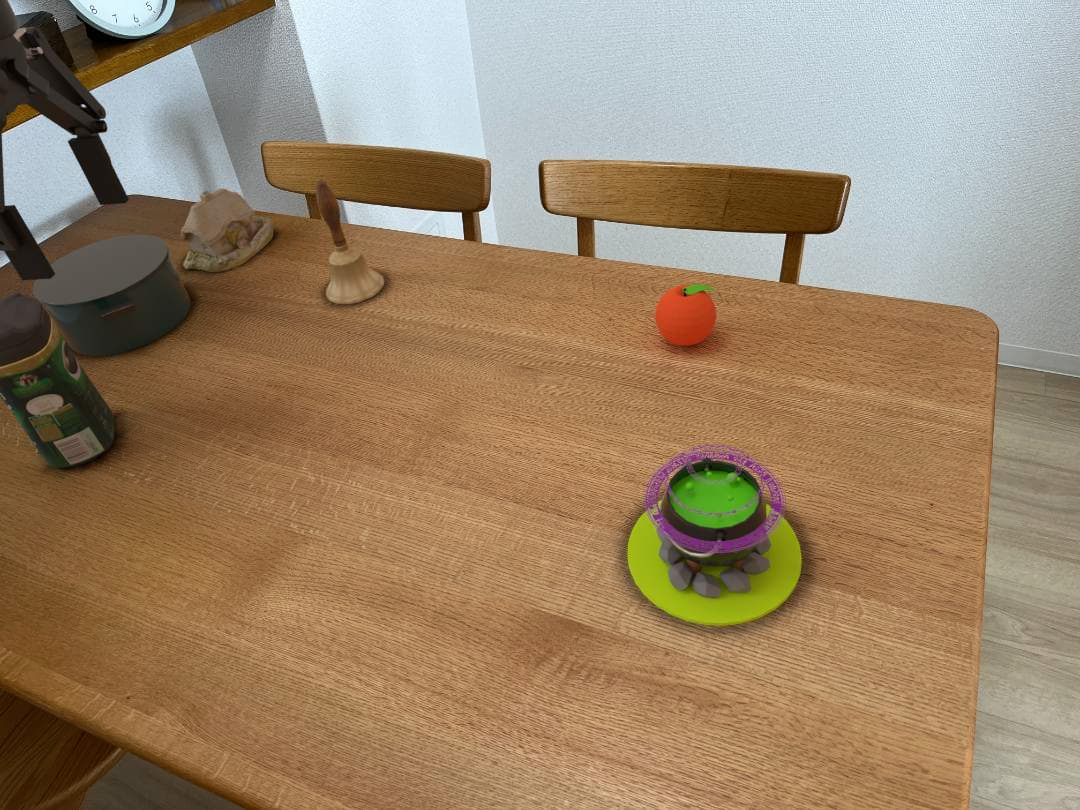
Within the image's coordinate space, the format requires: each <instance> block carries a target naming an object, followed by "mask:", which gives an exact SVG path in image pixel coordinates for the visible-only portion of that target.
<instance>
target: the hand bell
mask: <svg viewBox="0 0 1080 810" xmlns="http://www.w3.org/2000/svg"><path fill="white" fill-rule="evenodd" d="M315 199H316V200H315V201H316V205H317V208H318V211H319V213H320V215H321V217H322V219H323V221H324V222H325V223H326V225H327V227H328V228H329V231H330V235H331V238H332V239H331V240H332V241H333V245H334V248H335V249H334V250H335V251H333V252H332V253H331V254H330V255H329V257H328V263H329V267H330V282H329V283H328V285H327V287H326V291H325V296H326V299H327V300H328V301H329V302H331V303H334V304H336V305H353V304H354V305H355V304H358V303H362V302H364V301H367V300H369V299H371V298H373V297H374V296H376V295H377V294H378V293H380V291H381V290H382V289H383V288H384V286H385V279H384V276H383V275H382V274H381V273H380V272H378V271H376V270H374V269H372V268H371V267H370V266H369V265H368V264H367V262H366V260H365V258H364V256H363V254H362V252H361V250H360V249H359V248H357V247H353V246H349V245H348V242H347V239H346V236H345V233H344V231H343V228H342V225H341V211H340V206H339V202H338V199H337V197H336V195H335V193H334V192H333V190H332V189H331V188H330V186H329V185H328V183H327V181H326V180H325V179H319V180H317V181H316V182H315Z"/></svg>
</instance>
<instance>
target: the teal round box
mask: <svg viewBox="0 0 1080 810" xmlns="http://www.w3.org/2000/svg"><path fill="white" fill-rule="evenodd" d="M50 266H51V267H52V269H53V271H54V272H55V275H54V276H53V277H52V278H51V279H37V280H35V281H34V283H33V286H32V293H33V296H34V298H35V299H37V300H38V301H39V302H40V303H41V304H42V306H43V307H44V309H45V310H46V311H47V313H48V314H49V315H50V317H51V319H52V320H53V322H54V324H55V325H56V327H57V329H58V331H59V332H60V334H61V336H62V338H63V339H64V341H65V342H66V344H67V346H68V347H69V349H70V350H71V351H74V352H75V353H77V354H80V355H83V356H89V357H105V356H112V355H118V354H123V353H126V352H129V351H133V350H135V349H139V348H141V347H143V346H146V345H148V344H150V343H152V342H154V341H156V340H158V339H160V338H162V337H164V336H165V335H166V334H168V333H169V332H170V331H172V330H173V329H174V328H176V327H177V326H178V325H179V324H181V322H182V321H183V320H184V319H185V317H186V316H187V314H188V313H189V311H190V308H191V298H190V295H189V293H188V291H187V289H186V287H185V285H184V282H183V281H182V279H181V276H180V275H179V273H178V270H177V268H176V267H175V264H174V262H173V260H172V258H171V256H170V250H169V247H168V245H167V243H166V242H165V240H163V239H162V238H160V237H157V236H154V235H149V234H130V235H120V236H115V237H110V238H107V239H101V240H99V241H96V242H93V243H90V244H87V245H85V246H83V247H79V248H77V249H75V250H74V251H71V252H70V253H67V254H66V255H64V256H62V257H60V258H59V259H57V260H56V261H54V262H52V263H51V264H50Z"/></svg>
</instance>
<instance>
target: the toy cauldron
mask: <svg viewBox="0 0 1080 810" xmlns="http://www.w3.org/2000/svg"><path fill="white" fill-rule="evenodd" d="M707 447H709V449H708V448H707ZM700 449H702V450H700ZM726 449H727V450H726ZM730 451H731V452H730ZM697 461H698V462H697ZM739 465H740V466H739ZM742 466H743V467H745V468H747V469H748V470H750V471H751V472H752V473H754V474H755V475H756V476H757V477H758V478H759V479H760V484H759V483H758V480H757V479H756V478H755V477H754V475H752V473H750V472H749V471H748V470H747V469H744V468H743V467H742ZM675 470H676V472H675ZM673 472H674V474H673V476H672V477H671V478H670V480H669V477H670V476H669V475H670V474H671V473H673ZM651 475H652V476H650V477H651V478H649V479H648V481H647V483H646V484H647V485H646V487H645V489H644V494H645V495H643V504H644V509H645V512H643V514H641V516H639V518H638V520H637V521H636V523H635V525H634V526H633V528H632V529H631V533H630V535H629V539H628V543H627V557H626V558H627V563H628V568H629V572H630V574H631V576H632V579H633V581H634V583H635V584H636V586H637V588H638V589H639V590H640V591H641V592H642V594H643V595H644V597H646V599H648V600H649V602H651V603H653V604H654V605H655V606H656V608H659V609H661V610H662V611H664V612H666V613H667V614H669V615H671V616H673V617H675V618H677V619H681V620H683V621H686V622H689V623H694V624H699V625H702V626H703V625H704V626H715V627H716V626H719V627H727V626H734V625H741V624H746V623H749V622H752V621H755V620H758V619H761V618H762V617H765V616H767V615H768V614H771V613H772V612H773V611H776V609H778V608H779V607H780V606H782V605H783V603H785V602H786V601H787V600H788V599H789V597H790V596H791V594H793V592H794V590H795V589H796V587H797V585H798V582H799V580H800V577H801V571H802V566H803V565H802V563H803V558H802V552H801V545H800V542H799V540H798V537H797V535H796V533H795V531H794V529H793V528H792V526H791V525H790V524H789V522H788V521H787V519H786V518H784V516H785V513H786V507H787V499H786V493H785V490H784V488H783V485H782V484H781V482H780V480H779V479H778V477H777V476H776V475H775V474H774V473H773V471H771V470H770V469H769V467H767V466H765V465H764V464H762V463H761V462H759V461H757V460H756V459H754V458H752V456H750V454H748V453H747V452H745V451H744V450H743V451H742V450H740V449H738V448H736V447H732V446H729V445H723V444H720V445H718V444H703V445H702V444H701V445H700V446H699V445H698V446H694V447H690V448H689V449H687V450H685V451H682V452H680V453H679V454H677V455H676V456H674V457H671V458H669V459H668V461H666V462H665V463H662V464H661V463H660V465H659V466H658V468H657V469H656V470H655V471H654V472H652V473H651ZM663 482H664V485H665V490H664V493H663V495H662V497H661V498H662V499H660V500H659V499H658V498H659V492H660V488H661V486H662V485H663ZM761 486H762V488H761ZM765 487H766V488H767V489H768V490H767V491H768V494H769V496H770V500H771V501H769V502H770V504H771V505H769V504H767V503H766V501H765V499H764V496H763V492H764V490H765ZM654 498H655V499H654Z"/></svg>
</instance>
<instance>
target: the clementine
mask: <svg viewBox="0 0 1080 810" xmlns="http://www.w3.org/2000/svg"><path fill="white" fill-rule="evenodd" d="M707 291H715V292H717V294H718V295H719V297H720V298H721V299H722V296H721V293H720V292H719V291H718V290H716V289H715V288H714V287H712V286H710V285H705V284H693V285H692V284H681V285H677V286H675V287H673V288H671V289H669V290H667V291H666V292H665V293H664V294H663V295H662V296H661V297H660V298H659V301H658V304H657V305H656V307H655V314H654V318H655V324H656V327H657V329H658V331H659V333H660V334H661V336H662V337H663V338H664V339H666V341H668V342H670V343H671V344H674V345H677V346H683V347H685V346H693V345H696V344H700V343H701V342H703V341H704V340H705V339H707V338H708V337H709V335H710V334H711V333H712V332H713V329H714V327H715V326H716V322H717V309H716V304H715V302H714V300H713V298H712V297H711V295H709V294H708V293H707Z"/></svg>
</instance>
